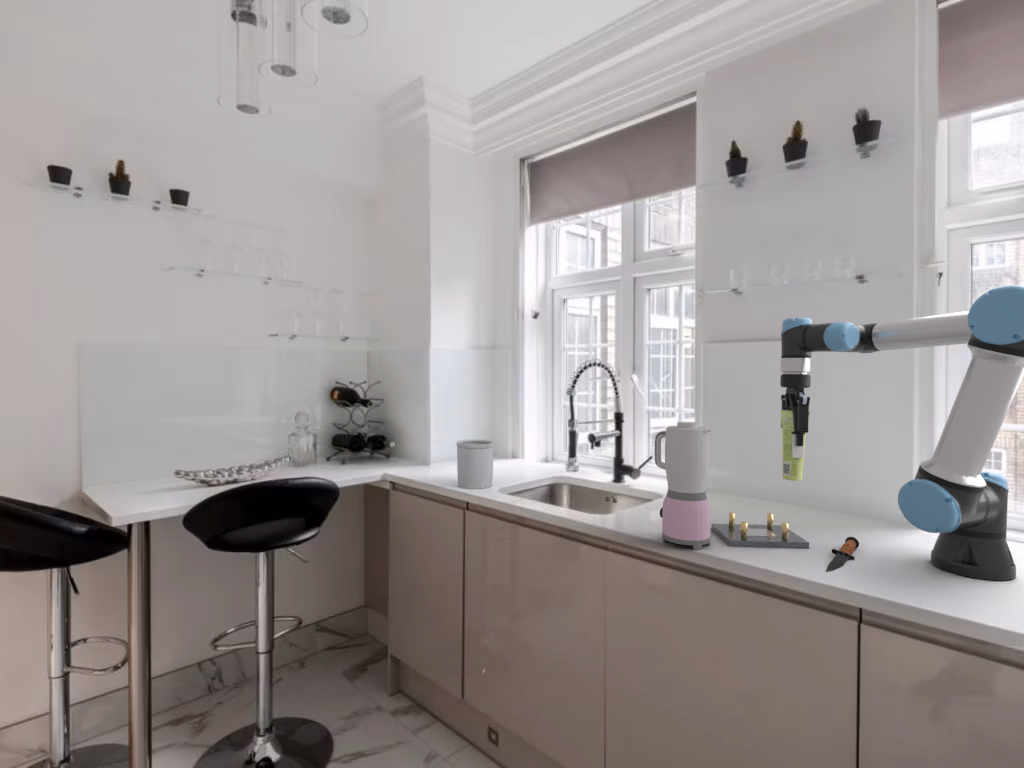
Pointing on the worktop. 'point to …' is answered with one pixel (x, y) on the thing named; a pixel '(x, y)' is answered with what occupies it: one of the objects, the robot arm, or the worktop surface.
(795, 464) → the tube
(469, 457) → the utensil holder
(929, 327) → the robot arm
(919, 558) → the worktop surface
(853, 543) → the knife
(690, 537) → the blender
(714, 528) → the plate
